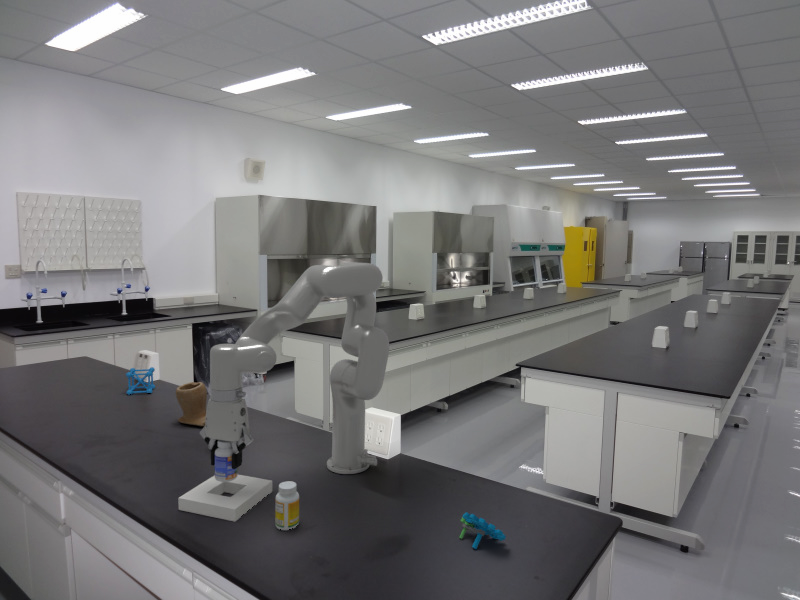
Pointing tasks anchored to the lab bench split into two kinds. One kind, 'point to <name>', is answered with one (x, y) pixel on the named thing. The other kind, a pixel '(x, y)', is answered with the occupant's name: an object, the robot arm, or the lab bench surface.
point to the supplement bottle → (287, 506)
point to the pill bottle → (224, 462)
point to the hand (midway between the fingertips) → (226, 464)
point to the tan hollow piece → (192, 403)
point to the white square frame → (225, 497)
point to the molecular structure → (140, 380)
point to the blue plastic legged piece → (483, 528)
